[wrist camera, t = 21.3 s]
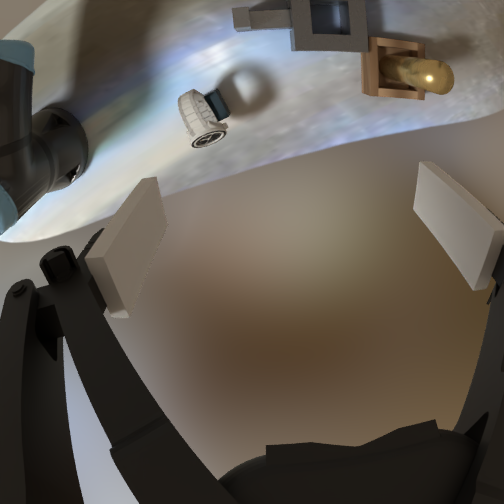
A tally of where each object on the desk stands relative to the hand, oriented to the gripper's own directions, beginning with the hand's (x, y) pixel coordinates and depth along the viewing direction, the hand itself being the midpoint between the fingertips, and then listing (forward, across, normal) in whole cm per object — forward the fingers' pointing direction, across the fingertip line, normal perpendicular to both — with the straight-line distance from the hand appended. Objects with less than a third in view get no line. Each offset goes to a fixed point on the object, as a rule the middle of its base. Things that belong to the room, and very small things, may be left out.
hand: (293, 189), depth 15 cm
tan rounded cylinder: (+34, -19, -5) cm, 39 cm away
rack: (+35, -19, -5) cm, 40 cm away
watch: (+35, +9, +1) cm, 36 cm away
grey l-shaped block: (+35, -2, -12) cm, 37 cm away
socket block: (+35, -9, -12) cm, 38 cm away
